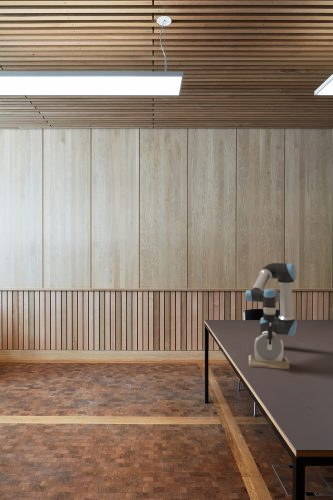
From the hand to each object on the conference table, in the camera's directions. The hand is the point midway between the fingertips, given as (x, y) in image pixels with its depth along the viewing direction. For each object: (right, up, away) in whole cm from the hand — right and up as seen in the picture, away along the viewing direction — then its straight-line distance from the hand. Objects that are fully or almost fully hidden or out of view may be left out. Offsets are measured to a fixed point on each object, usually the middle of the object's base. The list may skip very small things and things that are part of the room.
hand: (268, 347), depth 272 cm
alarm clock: (0, -10, 0) cm, 10 cm away
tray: (0, -11, 0) cm, 11 cm away
